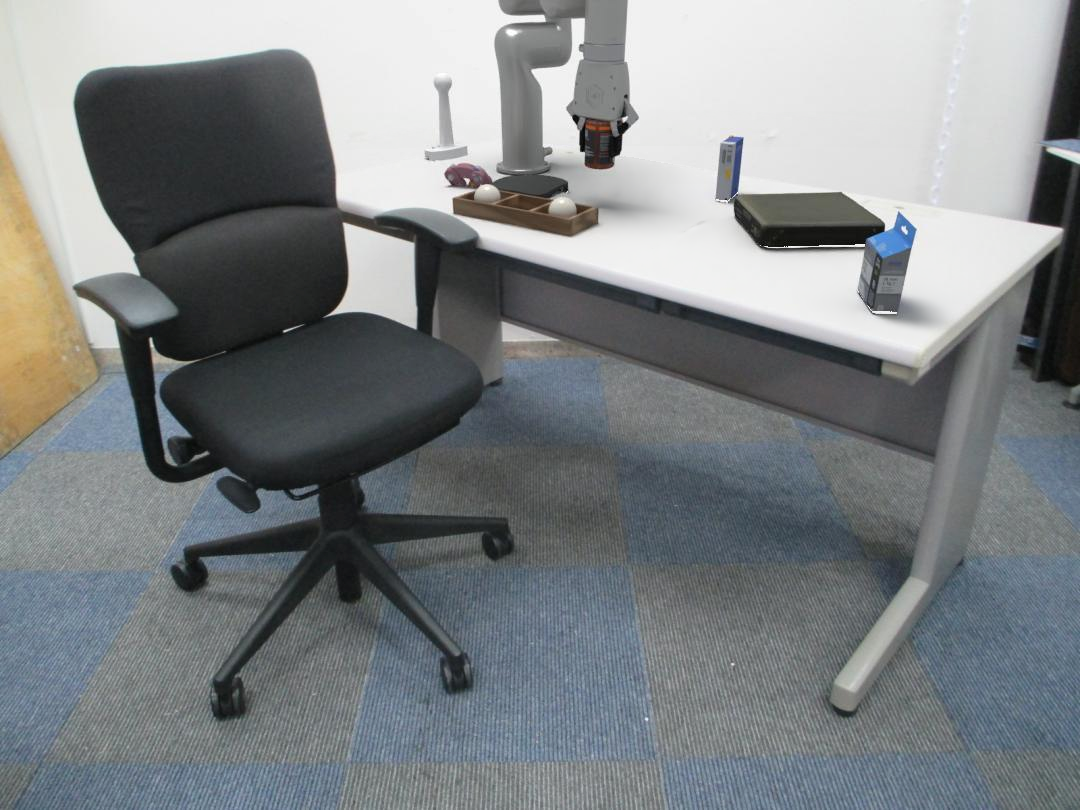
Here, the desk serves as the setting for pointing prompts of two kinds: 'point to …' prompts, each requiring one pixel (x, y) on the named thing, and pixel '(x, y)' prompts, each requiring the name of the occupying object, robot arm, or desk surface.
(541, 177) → the media streaming box
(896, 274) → the grey and blue box
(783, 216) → the network switch
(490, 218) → the holder
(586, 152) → the supplement bottle
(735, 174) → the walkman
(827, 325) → the desk surface
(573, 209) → the egg
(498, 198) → the egg
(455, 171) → the video game controller
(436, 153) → the joystick
